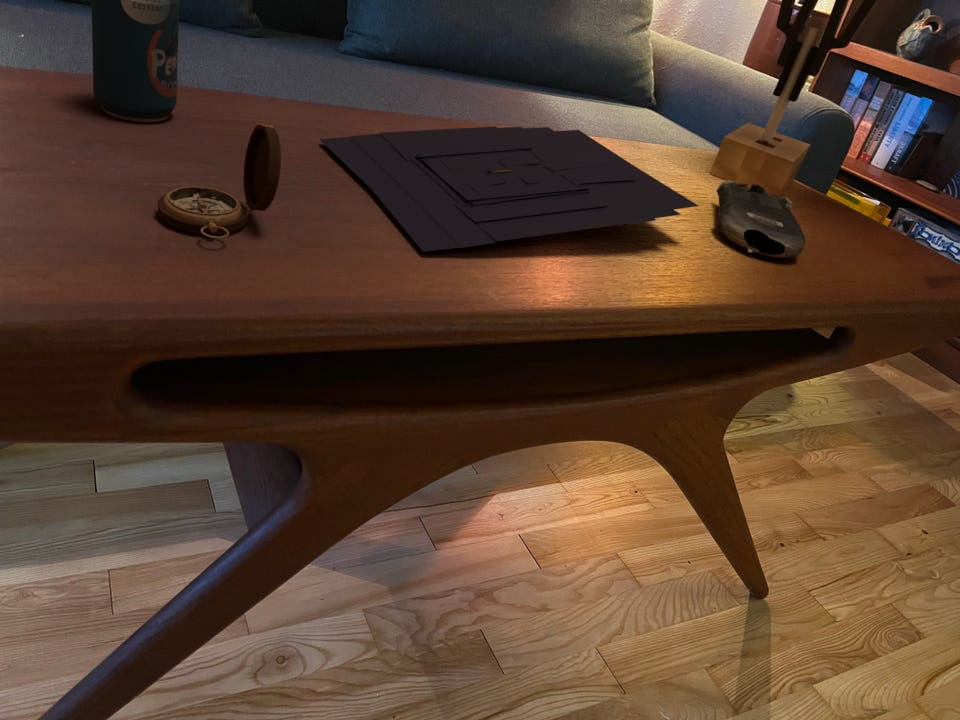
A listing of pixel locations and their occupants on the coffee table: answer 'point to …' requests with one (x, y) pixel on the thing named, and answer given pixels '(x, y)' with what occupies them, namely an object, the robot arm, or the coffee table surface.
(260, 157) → the compass
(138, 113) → the soda can
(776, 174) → the pen holder
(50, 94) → the coffee table surface
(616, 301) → the coffee table surface
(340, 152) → the papers
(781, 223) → the electronic device
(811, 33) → the stylus
